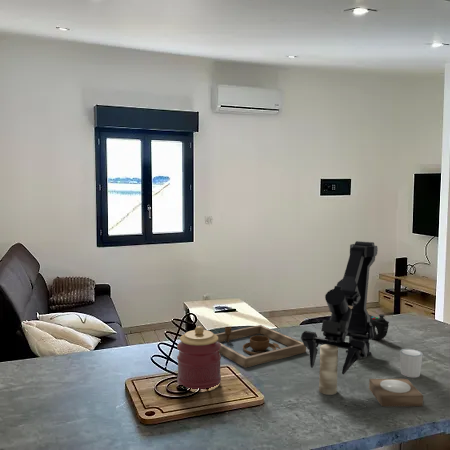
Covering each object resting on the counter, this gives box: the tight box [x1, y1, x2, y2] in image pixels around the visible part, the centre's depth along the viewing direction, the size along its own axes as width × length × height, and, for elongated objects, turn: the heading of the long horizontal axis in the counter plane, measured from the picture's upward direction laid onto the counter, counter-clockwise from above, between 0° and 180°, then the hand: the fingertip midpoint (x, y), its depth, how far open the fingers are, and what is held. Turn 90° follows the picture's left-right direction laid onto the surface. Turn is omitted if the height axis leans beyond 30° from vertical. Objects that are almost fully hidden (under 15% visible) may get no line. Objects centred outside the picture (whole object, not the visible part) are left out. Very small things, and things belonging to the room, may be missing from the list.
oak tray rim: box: [214, 324, 307, 369], centre depth 173 cm, size 26×26×3 cm
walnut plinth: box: [368, 378, 424, 407], centre depth 135 cm, size 11×11×3 cm
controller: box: [369, 314, 390, 341], centre depth 185 cm, size 4×12×10 cm, turn 25°
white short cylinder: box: [399, 348, 424, 378], centre depth 151 cm, size 7×7×7 cm
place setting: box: [224, 326, 282, 356], centre depth 175 cm, size 18×20×6 cm
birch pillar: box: [318, 344, 339, 396], centre depth 138 cm, size 5×5×13 cm
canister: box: [176, 325, 222, 389], centre depth 142 cm, size 13×13×18 cm
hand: (326, 370), depth 137 cm, fingers open, 9 cm apart
